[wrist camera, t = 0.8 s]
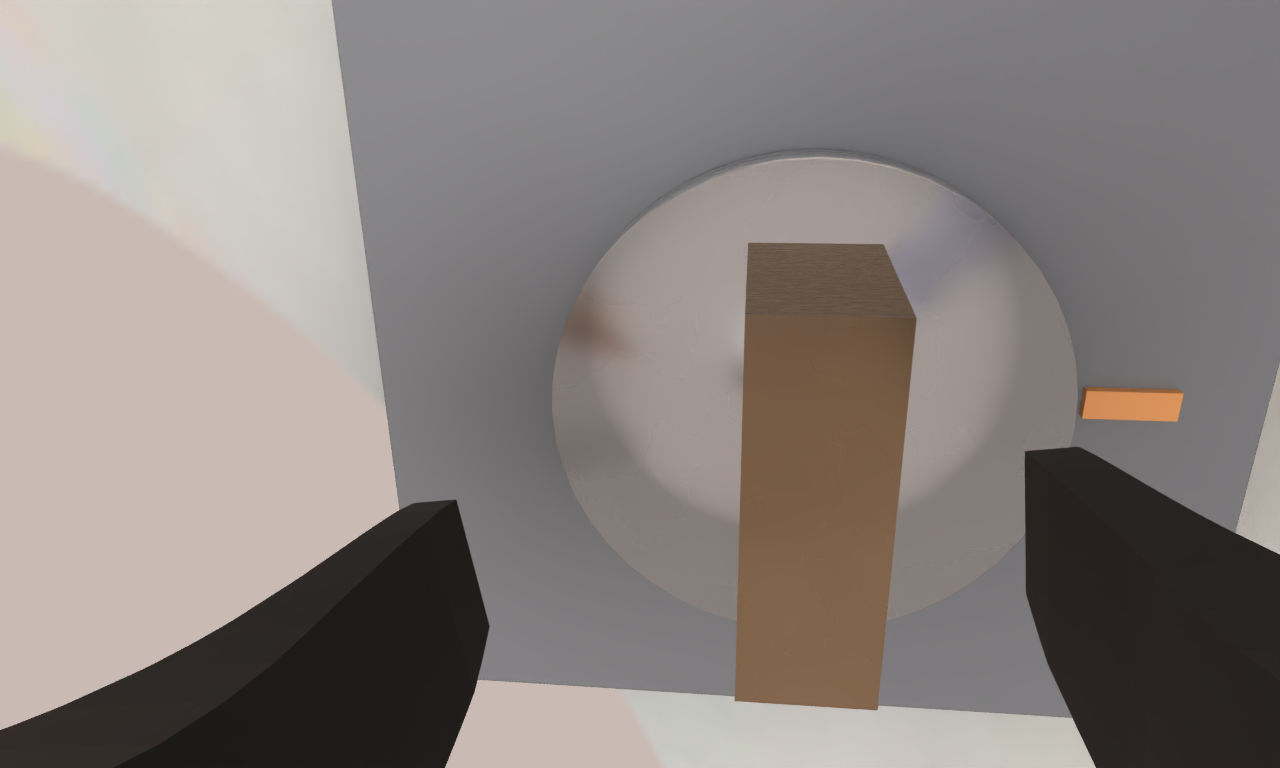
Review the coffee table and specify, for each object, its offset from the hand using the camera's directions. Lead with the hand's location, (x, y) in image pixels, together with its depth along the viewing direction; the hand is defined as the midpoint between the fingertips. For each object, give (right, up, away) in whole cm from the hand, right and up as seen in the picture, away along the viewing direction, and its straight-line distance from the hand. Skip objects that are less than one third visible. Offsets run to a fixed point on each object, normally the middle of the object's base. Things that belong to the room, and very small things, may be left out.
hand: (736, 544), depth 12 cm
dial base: (+2, +2, +9) cm, 10 cm away
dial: (+2, +2, +7) cm, 8 cm away
